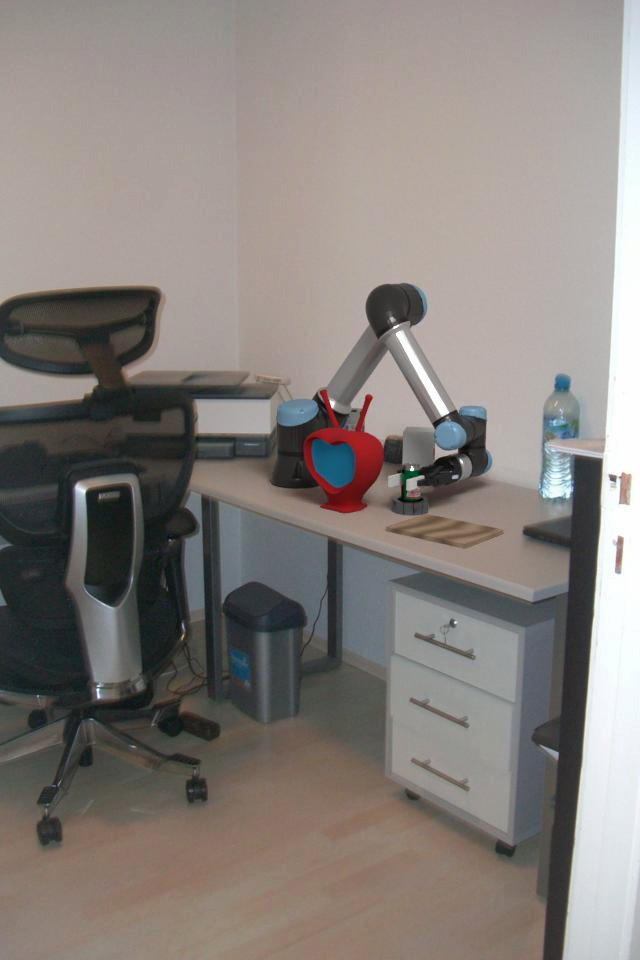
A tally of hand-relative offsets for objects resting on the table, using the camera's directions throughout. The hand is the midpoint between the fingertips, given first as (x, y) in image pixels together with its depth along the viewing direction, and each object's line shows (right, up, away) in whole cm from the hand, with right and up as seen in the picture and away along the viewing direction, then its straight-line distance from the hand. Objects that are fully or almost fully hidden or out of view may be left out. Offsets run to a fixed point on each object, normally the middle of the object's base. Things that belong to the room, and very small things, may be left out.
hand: (398, 483), depth 237 cm
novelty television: (-13, -6, +10) cm, 17 cm away
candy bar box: (-11, +8, +72) cm, 73 cm away
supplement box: (+9, +1, +41) cm, 42 cm away
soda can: (+3, -7, +6) cm, 10 cm away
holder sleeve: (+3, -7, +6) cm, 10 cm away
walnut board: (+10, -11, -14) cm, 21 cm away
